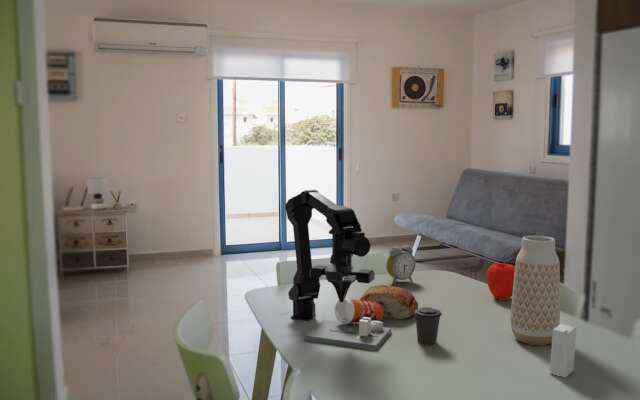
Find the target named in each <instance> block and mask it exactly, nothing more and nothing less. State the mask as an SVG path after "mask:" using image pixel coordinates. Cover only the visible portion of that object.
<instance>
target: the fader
mask: <svg viewBox="0 0 640 400" xmlns="http://www.w3.org/2000/svg"><path fill="white" fill-rule="evenodd" d="M358 324H359V335H360V336H368V335H369V334H370V333H371V318H368V317H363V318H361V320H360V321H359V323H358Z"/></svg>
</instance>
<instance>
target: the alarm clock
mask: <svg viewBox="0 0 640 400" xmlns="http://www.w3.org/2000/svg"><path fill="white" fill-rule="evenodd" d="M413 252H414V250H413V247H412V246H411V245H410V244H405V245H403V246H401V248H400V247H399V246H392V247H391V248H390V249H389V255H388V257H387V260H386V272H387V273H388V275H389V276H390V277H392V285H395V284H396V282H397V280H400V281H405V280H409V281H410V282H413V278H412V275H413V274H414V272H415V270H416V258H415V256H414V255H413Z"/></svg>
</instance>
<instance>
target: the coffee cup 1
mask: <svg viewBox="0 0 640 400" xmlns="http://www.w3.org/2000/svg"><path fill="white" fill-rule="evenodd" d="M334 315H335V319H336V321H340V322H341V323H343V324H348V323H356V324H359V321H360V320H361V318H363V317H368V318H371V321H381V320H382V319H383V318H384V317H383V308H382V306H381V305H380V304H379V303H374V302H368V301H362V300H359V299H354V298H350V297H347V296H346V297H345V299H344V302H340V301H339V300H338V301H337V302H336V304H335V307H334Z"/></svg>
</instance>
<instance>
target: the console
mask: <svg viewBox="0 0 640 400" xmlns="http://www.w3.org/2000/svg"><path fill="white" fill-rule="evenodd" d="M391 333H392V328H391V327H385V326H384V322H383V321H381V320H380V321H371V333H370V334H369V335H368V336H360V335H359V323H348V324H343V323H341V322H340V321H338V320H332V319H323V320H322V321H320V322H319V323H318V324H317V325H316V326H314V327H313V328H311V329H310V330H309V331H308V332H306V333H305V334H304V341H307V342H315V343H322V344H328V345H333V346H334V345H335V346H340V347H341V346H343V347H348V348H350V347H351V348H354V349H355V348H356V349H364V350H371V351H377V350H378V349H379V348H380V346H382V344H383V343H384V341H385V340H387V338H388V337H389V336H390V335H391Z"/></svg>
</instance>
